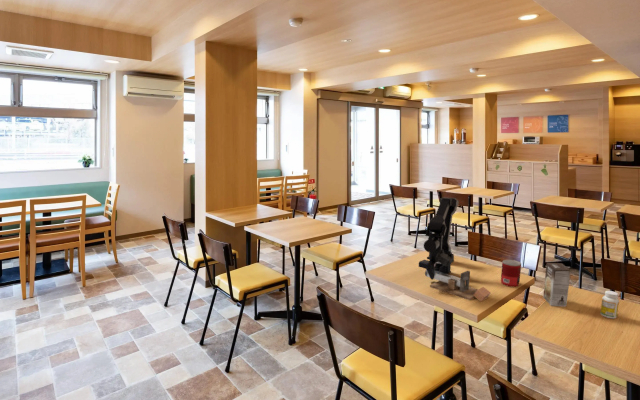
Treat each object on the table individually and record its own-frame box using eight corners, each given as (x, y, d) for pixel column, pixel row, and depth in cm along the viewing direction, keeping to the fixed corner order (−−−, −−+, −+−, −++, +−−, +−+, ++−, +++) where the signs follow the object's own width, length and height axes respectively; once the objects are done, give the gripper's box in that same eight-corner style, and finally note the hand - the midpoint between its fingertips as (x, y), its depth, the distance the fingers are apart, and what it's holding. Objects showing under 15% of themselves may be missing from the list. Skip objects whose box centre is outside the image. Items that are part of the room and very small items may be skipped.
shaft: (424, 277, 189) (425, 269, 189) (429, 275, 192) (429, 267, 191) (461, 288, 175) (461, 280, 175) (465, 286, 178) (465, 278, 177)
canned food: (521, 287, 182) (523, 265, 180) (502, 286, 184) (504, 264, 182) (516, 281, 189) (518, 260, 188) (498, 280, 191) (500, 259, 189)
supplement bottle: (608, 319, 151) (611, 295, 149) (596, 313, 156) (599, 290, 155) (620, 318, 152) (623, 294, 150) (608, 312, 157) (611, 289, 156)
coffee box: (542, 297, 172) (545, 262, 169) (558, 298, 170) (561, 262, 168) (550, 306, 163) (554, 269, 160) (567, 307, 161) (571, 270, 159)
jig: (429, 286, 183) (430, 267, 181) (443, 280, 191) (444, 262, 189) (469, 300, 168) (471, 279, 166) (483, 293, 176) (484, 272, 174)
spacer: (484, 296, 166) (481, 301, 167) (491, 292, 170) (487, 297, 171) (476, 290, 168) (473, 295, 170) (483, 286, 172) (480, 291, 174)
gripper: (439, 254, 173) (438, 288, 176) (461, 246, 185) (459, 278, 188) (418, 249, 181) (417, 281, 184) (440, 242, 194) (439, 272, 196)
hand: (434, 278), depth 188 cm, fingers closed on shaft, 3 cm apart
